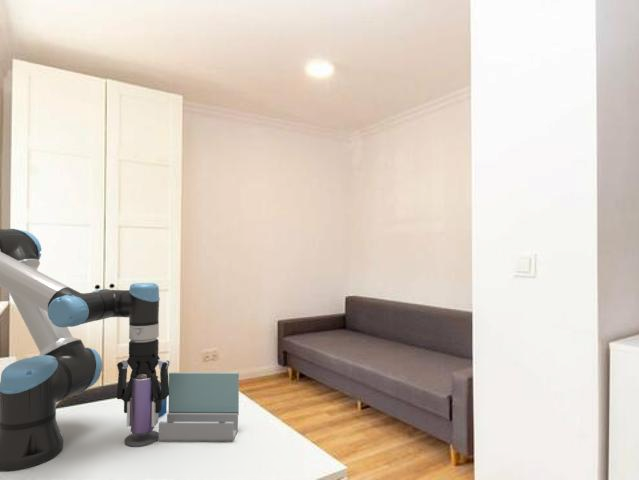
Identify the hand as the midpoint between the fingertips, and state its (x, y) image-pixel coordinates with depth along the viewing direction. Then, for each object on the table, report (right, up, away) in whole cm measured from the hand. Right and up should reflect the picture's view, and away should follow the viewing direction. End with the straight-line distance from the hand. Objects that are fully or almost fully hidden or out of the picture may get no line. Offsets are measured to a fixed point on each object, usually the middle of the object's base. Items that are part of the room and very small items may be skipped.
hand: (142, 424), depth 111 cm
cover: (+15, +6, +6) cm, 17 cm away
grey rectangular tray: (+15, -4, +2) cm, 16 cm away
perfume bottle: (-4, -5, +16) cm, 17 cm away
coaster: (0, -4, 0) cm, 4 cm away
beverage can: (0, -2, 0) cm, 2 cm away
